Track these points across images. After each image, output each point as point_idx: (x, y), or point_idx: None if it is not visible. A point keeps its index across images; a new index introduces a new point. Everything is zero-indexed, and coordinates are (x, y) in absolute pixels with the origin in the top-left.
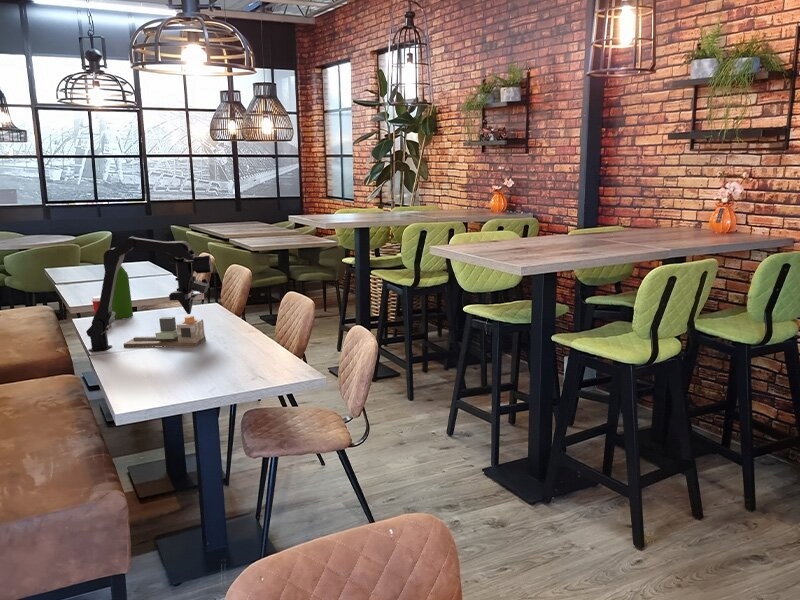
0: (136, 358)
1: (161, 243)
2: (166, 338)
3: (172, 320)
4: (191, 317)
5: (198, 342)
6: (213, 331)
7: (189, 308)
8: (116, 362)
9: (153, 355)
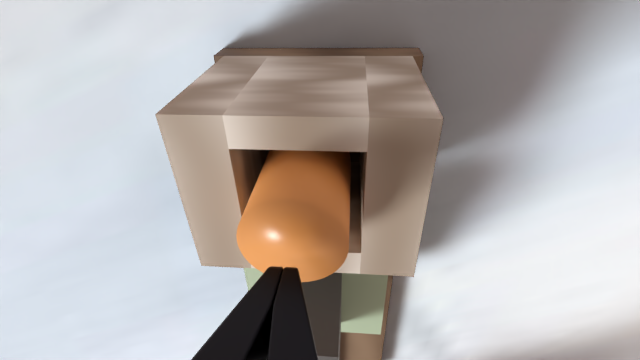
0: (600, 281)
1: None
2: None
3: (327, 336)
4: (311, 218)
5: (359, 52)
6: (5, 84)
7: (312, 338)
8: (636, 327)
9: (571, 230)
